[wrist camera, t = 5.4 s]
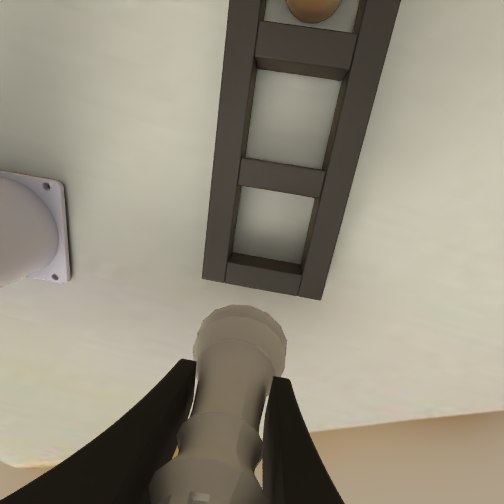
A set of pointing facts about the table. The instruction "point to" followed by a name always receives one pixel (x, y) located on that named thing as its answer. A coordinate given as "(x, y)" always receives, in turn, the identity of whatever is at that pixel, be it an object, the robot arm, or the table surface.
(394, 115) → the table surface
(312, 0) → the beech peg
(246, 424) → the rook chess piece
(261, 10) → the holder
